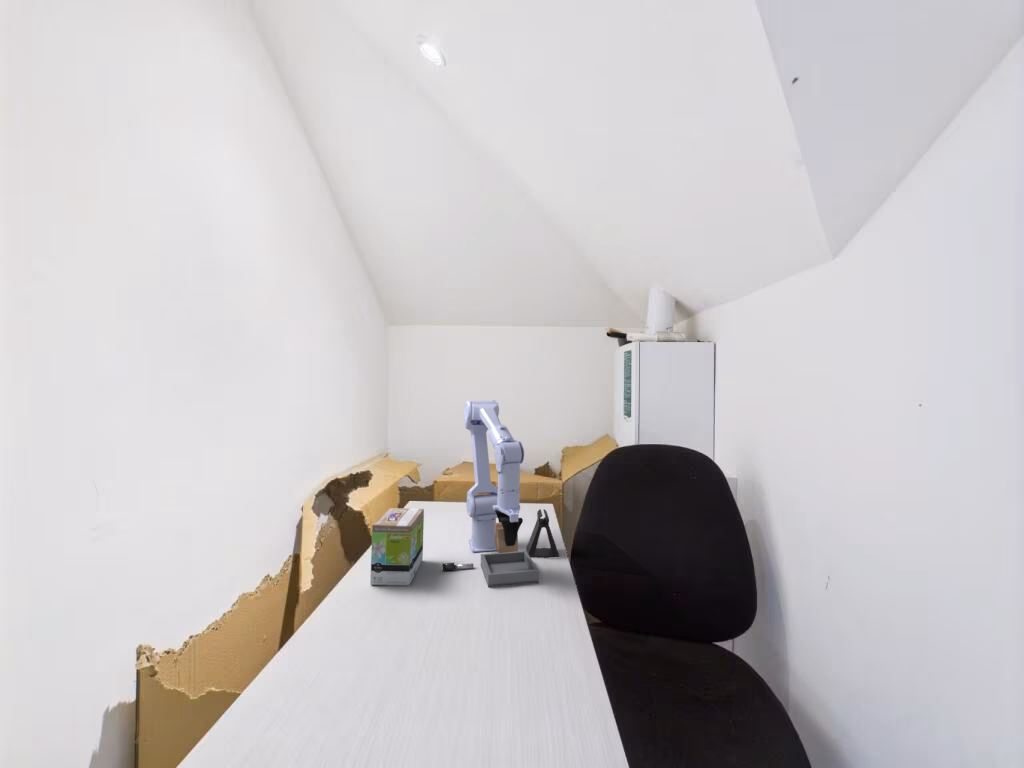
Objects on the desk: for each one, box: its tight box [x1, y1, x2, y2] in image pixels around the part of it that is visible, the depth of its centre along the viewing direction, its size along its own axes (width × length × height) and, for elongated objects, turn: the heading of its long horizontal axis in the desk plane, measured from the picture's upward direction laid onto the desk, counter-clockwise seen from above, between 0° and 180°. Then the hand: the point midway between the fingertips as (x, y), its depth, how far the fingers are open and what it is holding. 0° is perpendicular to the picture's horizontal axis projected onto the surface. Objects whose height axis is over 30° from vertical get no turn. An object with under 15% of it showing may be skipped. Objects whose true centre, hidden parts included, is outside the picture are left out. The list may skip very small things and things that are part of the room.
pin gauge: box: [442, 562, 474, 572], centre depth 111 cm, size 8×2×2 cm, turn 103°
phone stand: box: [526, 508, 560, 559], centre depth 122 cm, size 9×6×12 cm, turn 90°
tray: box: [480, 550, 540, 588], centre depth 109 cm, size 13×13×3 cm
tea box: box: [369, 507, 425, 586], centre depth 109 cm, size 15×10×15 cm, turn 0°
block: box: [495, 522, 519, 553], centre depth 109 cm, size 5×5×6 cm
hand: (508, 541), depth 109 cm, fingers closed on block, 5 cm apart
